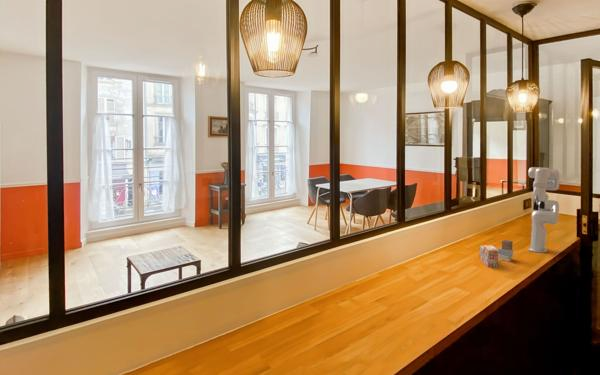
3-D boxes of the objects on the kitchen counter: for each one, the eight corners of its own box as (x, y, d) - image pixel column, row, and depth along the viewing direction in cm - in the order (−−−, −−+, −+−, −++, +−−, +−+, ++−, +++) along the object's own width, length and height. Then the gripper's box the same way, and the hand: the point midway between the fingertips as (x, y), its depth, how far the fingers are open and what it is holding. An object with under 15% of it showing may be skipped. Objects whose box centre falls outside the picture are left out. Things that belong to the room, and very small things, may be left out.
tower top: (503, 252, 281) (503, 247, 280) (512, 254, 275) (513, 249, 275) (498, 253, 277) (498, 248, 276) (507, 256, 271) (508, 250, 271)
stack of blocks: (478, 257, 281) (479, 241, 279) (488, 258, 280) (488, 241, 278) (487, 267, 260) (488, 249, 258) (497, 267, 259) (498, 250, 257)
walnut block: (504, 247, 278) (505, 239, 278) (512, 249, 274) (512, 241, 274) (501, 248, 275) (502, 240, 275) (508, 250, 271) (509, 242, 271)
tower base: (503, 257, 281) (503, 252, 281) (512, 259, 275) (513, 254, 275) (498, 259, 277) (498, 254, 277) (508, 261, 271) (508, 256, 271)
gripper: (540, 184, 280) (538, 207, 282) (529, 186, 270) (527, 209, 272) (551, 185, 274) (549, 208, 276) (540, 187, 264) (538, 211, 266)
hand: (538, 209), depth 274 cm, fingers open, 9 cm apart
